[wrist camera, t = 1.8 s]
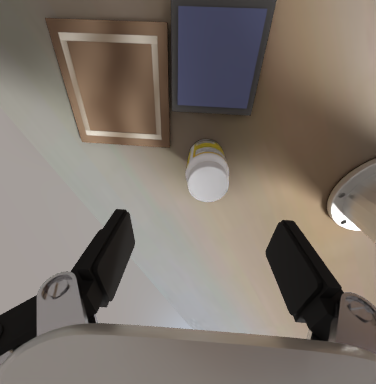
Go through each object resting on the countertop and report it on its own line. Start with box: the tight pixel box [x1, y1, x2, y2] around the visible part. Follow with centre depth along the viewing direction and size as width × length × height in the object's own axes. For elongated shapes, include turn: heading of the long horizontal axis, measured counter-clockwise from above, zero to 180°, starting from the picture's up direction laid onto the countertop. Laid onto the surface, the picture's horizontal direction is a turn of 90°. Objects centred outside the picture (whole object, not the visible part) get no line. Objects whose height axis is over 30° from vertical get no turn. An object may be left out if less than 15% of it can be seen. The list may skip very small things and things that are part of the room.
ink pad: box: [171, 0, 277, 116], centre depth 17 cm, size 9×9×2 cm
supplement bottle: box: [185, 139, 229, 202], centre depth 19 cm, size 5×5×8 cm
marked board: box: [45, 18, 170, 148], centre depth 19 cm, size 12×12×1 cm
